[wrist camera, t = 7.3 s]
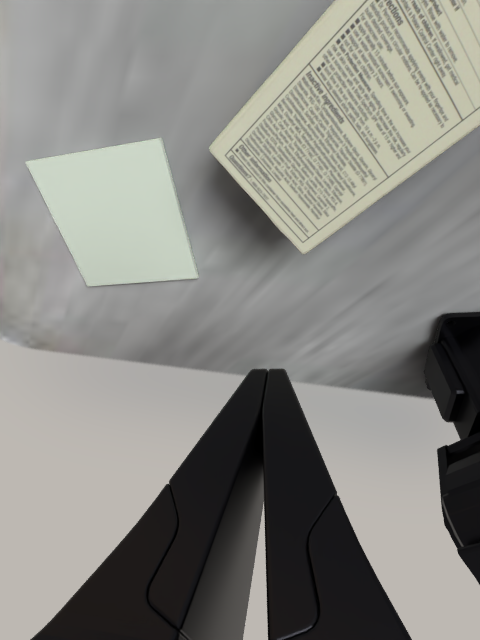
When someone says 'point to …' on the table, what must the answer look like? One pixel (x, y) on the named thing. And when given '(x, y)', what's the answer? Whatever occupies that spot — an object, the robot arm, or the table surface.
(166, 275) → the mat
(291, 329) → the table surface
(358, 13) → the skincare box
